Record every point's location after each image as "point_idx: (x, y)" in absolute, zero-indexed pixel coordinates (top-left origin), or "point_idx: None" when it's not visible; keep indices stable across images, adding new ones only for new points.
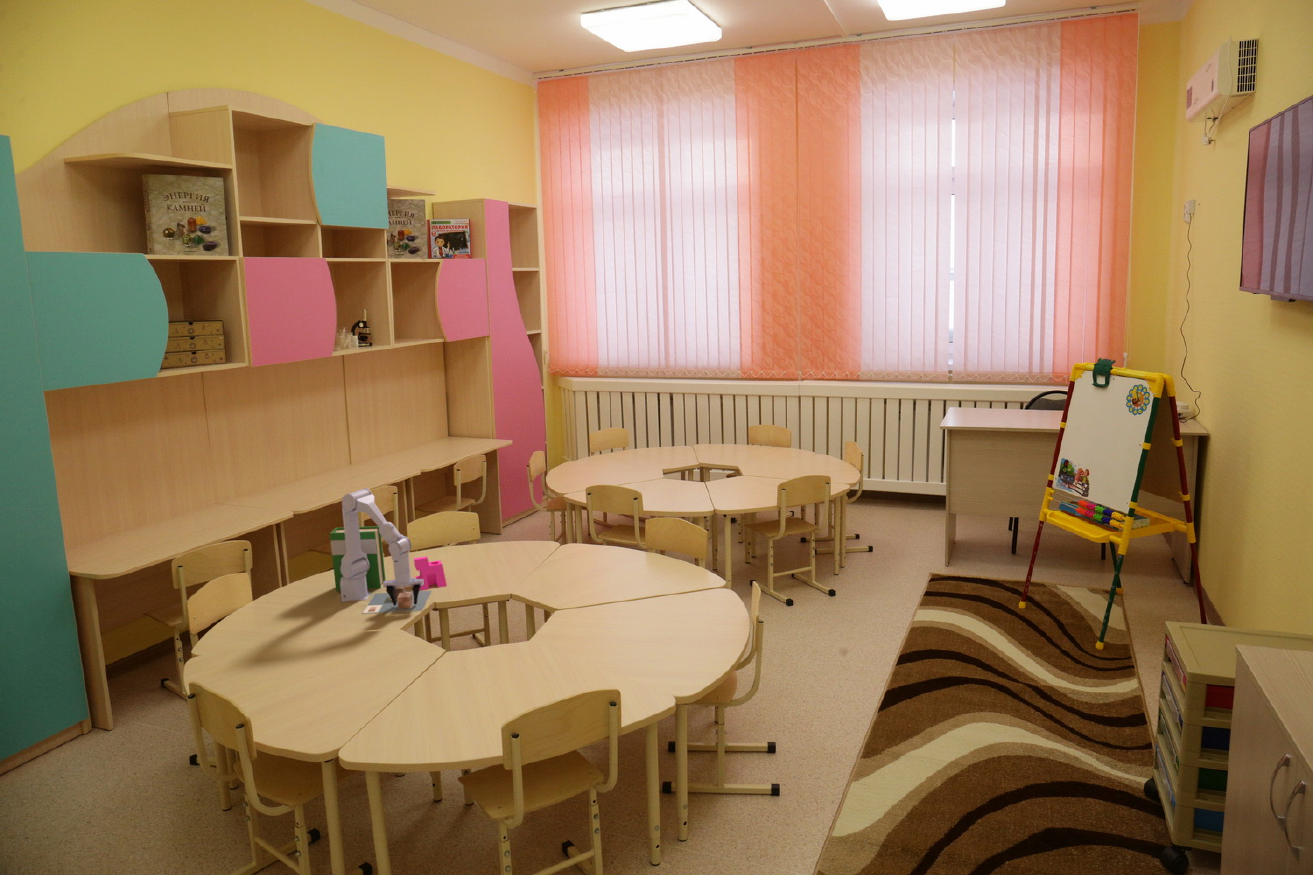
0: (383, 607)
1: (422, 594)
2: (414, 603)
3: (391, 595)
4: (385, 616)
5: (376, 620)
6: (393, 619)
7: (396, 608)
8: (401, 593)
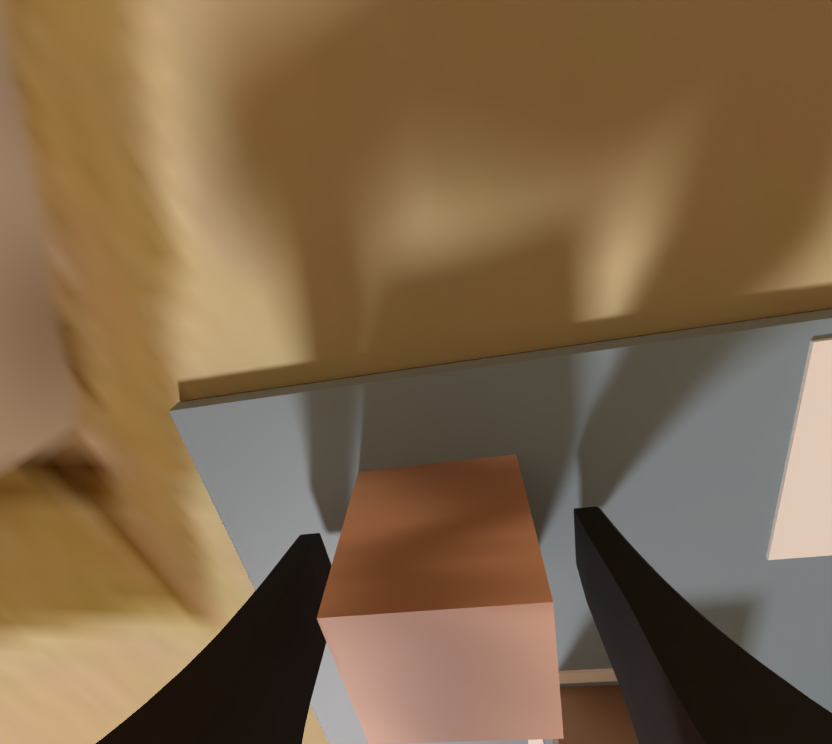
0: (742, 496)
1: None
2: (311, 541)
3: (700, 653)
4: (652, 228)
5: (798, 21)
6: (472, 97)
7: (548, 467)
8: (530, 727)
